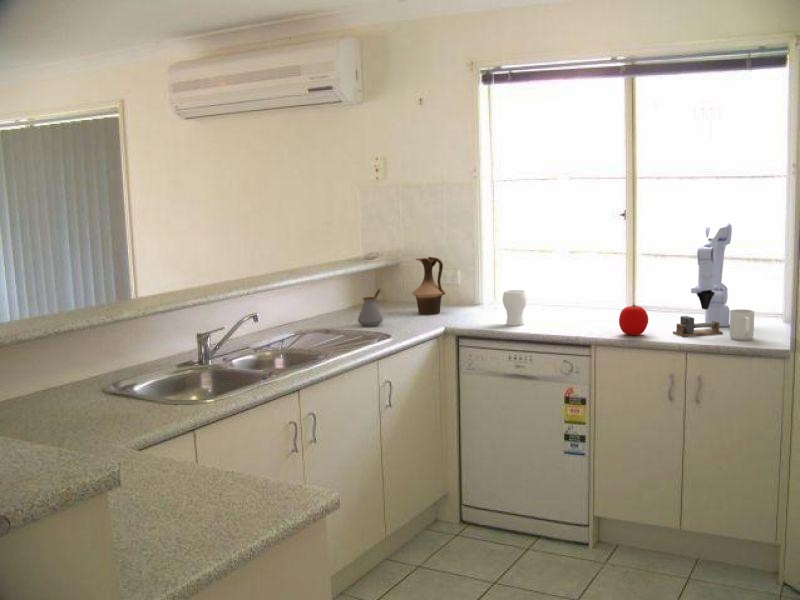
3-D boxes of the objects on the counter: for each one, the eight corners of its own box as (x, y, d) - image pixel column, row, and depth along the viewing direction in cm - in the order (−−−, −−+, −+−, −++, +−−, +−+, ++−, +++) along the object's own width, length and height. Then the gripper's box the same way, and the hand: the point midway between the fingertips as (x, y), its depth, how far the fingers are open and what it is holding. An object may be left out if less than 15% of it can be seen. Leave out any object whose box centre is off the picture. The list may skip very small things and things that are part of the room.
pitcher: (453, 311, 421) (452, 255, 417) (436, 317, 407) (435, 259, 403) (423, 309, 431) (421, 254, 426) (405, 314, 417) (403, 257, 412)
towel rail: (712, 330, 357) (712, 320, 356) (722, 334, 349) (723, 323, 348) (672, 333, 353) (672, 323, 352) (682, 337, 345) (683, 326, 345)
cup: (500, 326, 380) (500, 292, 378) (506, 322, 390) (505, 289, 388) (524, 327, 376) (523, 293, 374) (529, 322, 386) (528, 290, 384)
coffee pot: (378, 328, 384) (377, 295, 381) (354, 327, 387) (353, 294, 385) (392, 319, 404) (391, 288, 401) (369, 319, 407) (368, 288, 405)
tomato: (630, 338, 345) (631, 308, 343) (612, 333, 356) (613, 304, 354) (655, 335, 350) (655, 305, 348) (636, 330, 361) (637, 301, 359)
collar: (686, 330, 353) (687, 316, 352) (693, 332, 348) (694, 318, 347) (680, 330, 352) (680, 316, 351) (687, 333, 347) (687, 318, 346)
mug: (726, 336, 344) (727, 309, 342) (749, 336, 343) (750, 309, 341) (735, 342, 332) (736, 314, 330) (759, 342, 331) (760, 314, 329)
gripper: (710, 273, 355) (709, 305, 357) (685, 276, 348) (684, 309, 350) (724, 275, 349) (723, 308, 351) (699, 278, 342) (698, 311, 344)
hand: (704, 309), depth 350 cm, fingers closed
